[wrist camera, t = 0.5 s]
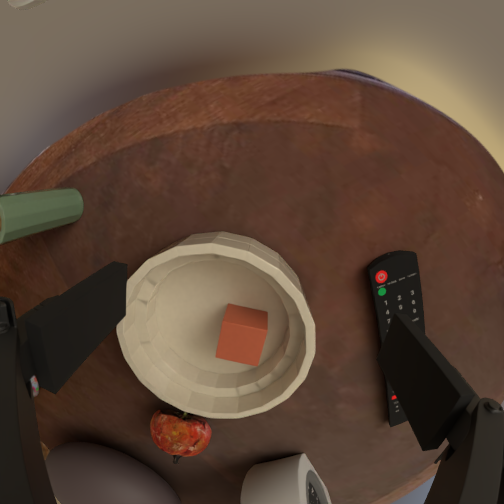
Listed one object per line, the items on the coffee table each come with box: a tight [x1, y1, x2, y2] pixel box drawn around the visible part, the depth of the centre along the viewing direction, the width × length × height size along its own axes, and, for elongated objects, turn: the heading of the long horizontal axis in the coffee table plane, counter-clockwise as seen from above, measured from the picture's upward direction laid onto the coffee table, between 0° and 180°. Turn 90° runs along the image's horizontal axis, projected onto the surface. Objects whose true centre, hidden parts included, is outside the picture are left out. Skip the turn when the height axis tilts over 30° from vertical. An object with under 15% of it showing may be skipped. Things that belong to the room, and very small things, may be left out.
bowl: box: [117, 231, 315, 418], centre depth 27 cm, size 18×18×6 cm
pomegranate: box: [150, 409, 211, 464], centre depth 31 cm, size 7×7×10 cm
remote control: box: [367, 251, 425, 427], centre depth 30 cm, size 5×24×1 cm, turn 18°
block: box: [215, 303, 268, 366], centre depth 28 cm, size 4×4×4 cm
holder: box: [0, 187, 84, 245], centre depth 22 cm, size 4×4×12 cm
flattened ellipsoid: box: [45, 442, 181, 504], centre depth 31 cm, size 25×25×15 cm
